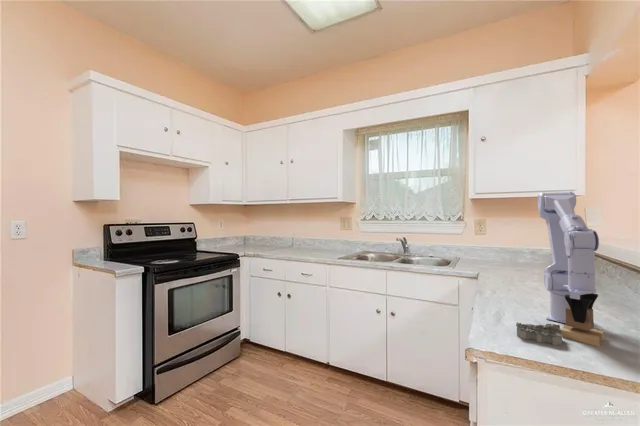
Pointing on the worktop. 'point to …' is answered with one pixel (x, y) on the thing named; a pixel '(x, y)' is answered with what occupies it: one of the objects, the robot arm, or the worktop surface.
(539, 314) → the worktop surface
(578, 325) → the walnut cube
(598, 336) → the board
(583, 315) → the robot arm
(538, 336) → the egg carton
